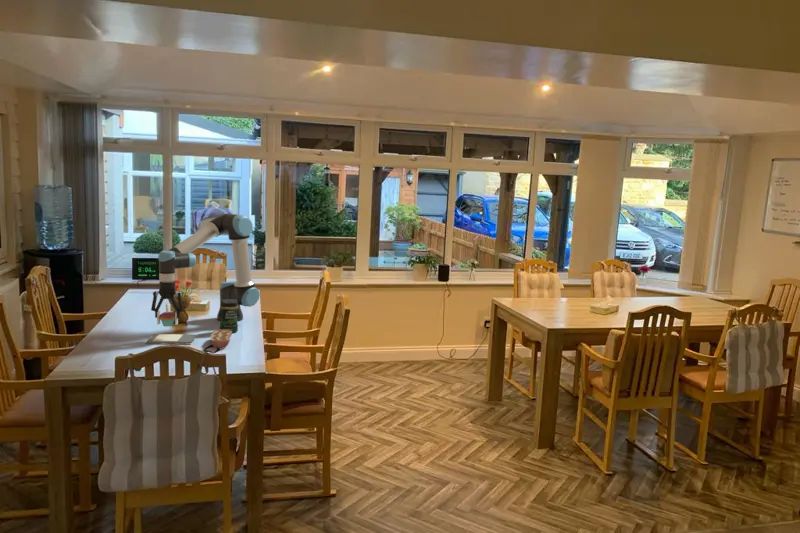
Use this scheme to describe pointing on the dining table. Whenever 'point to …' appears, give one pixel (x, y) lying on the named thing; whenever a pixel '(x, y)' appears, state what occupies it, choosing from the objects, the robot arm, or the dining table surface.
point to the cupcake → (167, 318)
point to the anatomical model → (221, 338)
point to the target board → (170, 338)
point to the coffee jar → (229, 314)
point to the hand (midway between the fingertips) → (167, 324)
